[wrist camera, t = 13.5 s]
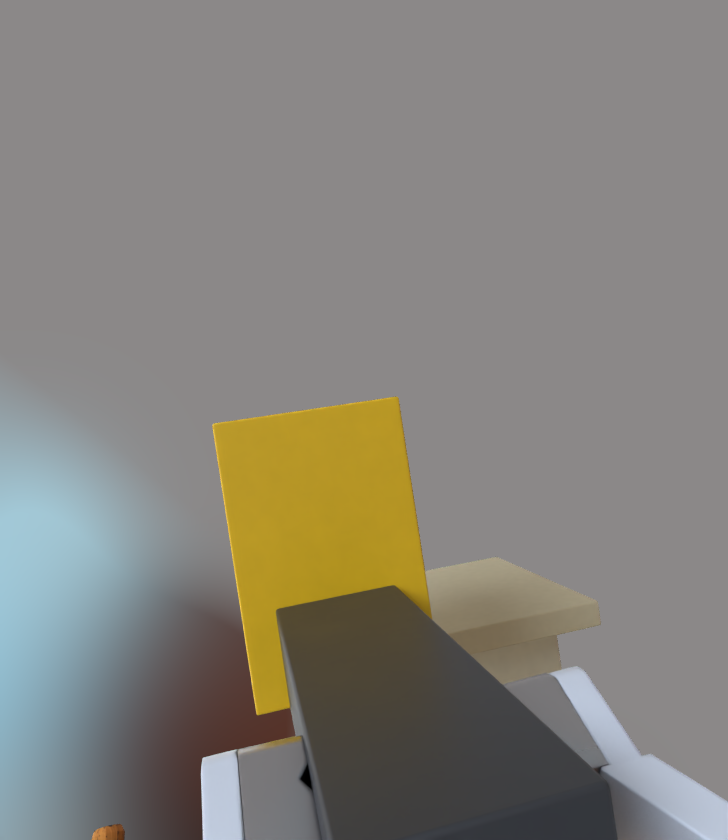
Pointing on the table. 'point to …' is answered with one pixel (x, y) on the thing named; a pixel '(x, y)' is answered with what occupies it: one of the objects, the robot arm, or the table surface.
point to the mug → (109, 833)
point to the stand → (507, 615)
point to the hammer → (379, 646)
